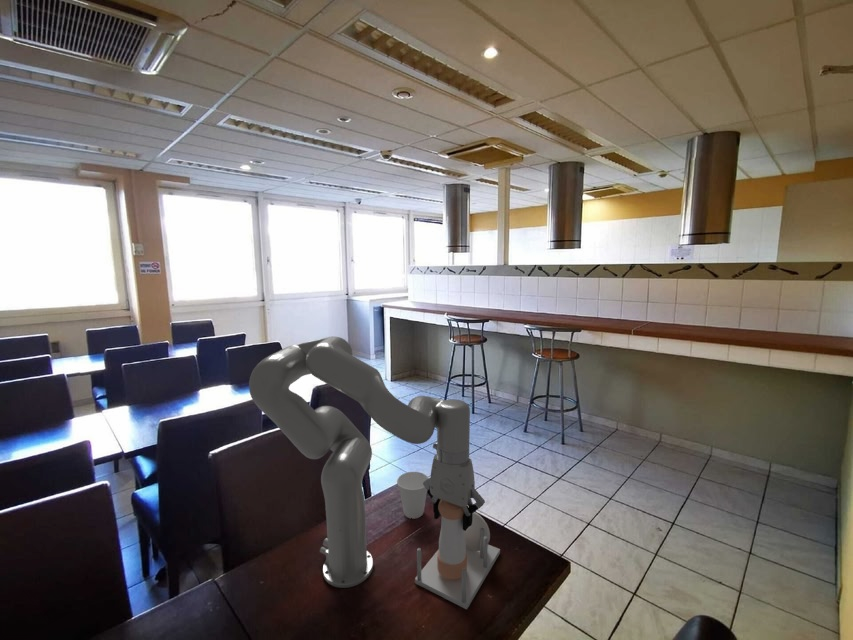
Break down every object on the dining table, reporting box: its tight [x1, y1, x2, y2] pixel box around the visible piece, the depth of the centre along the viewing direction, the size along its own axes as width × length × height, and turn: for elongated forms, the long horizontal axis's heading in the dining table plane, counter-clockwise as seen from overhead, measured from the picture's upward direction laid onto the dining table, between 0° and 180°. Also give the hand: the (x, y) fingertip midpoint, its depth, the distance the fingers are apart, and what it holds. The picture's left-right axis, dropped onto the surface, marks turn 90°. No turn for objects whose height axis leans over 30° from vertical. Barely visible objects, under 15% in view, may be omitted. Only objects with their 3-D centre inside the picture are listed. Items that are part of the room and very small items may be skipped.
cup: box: [396, 471, 430, 520], centre depth 122 cm, size 10×10×11 cm
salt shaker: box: [437, 500, 467, 579], centre depth 97 cm, size 7×7×19 cm
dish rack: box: [414, 511, 501, 610], centre depth 100 cm, size 14×20×12 cm
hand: (452, 521), depth 96 cm, fingers closed on salt shaker, 7 cm apart
